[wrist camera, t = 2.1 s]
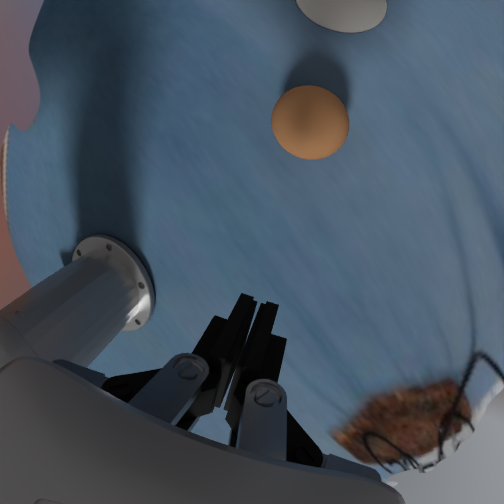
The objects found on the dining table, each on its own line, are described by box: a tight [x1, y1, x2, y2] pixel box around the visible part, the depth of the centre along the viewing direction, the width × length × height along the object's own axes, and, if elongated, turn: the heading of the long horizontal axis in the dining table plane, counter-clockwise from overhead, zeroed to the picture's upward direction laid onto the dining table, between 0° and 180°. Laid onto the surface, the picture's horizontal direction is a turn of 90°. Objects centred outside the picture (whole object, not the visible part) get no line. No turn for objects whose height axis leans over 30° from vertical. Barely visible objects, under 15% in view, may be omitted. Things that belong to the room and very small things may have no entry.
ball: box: [271, 85, 349, 160], centre depth 18 cm, size 6×6×6 cm
